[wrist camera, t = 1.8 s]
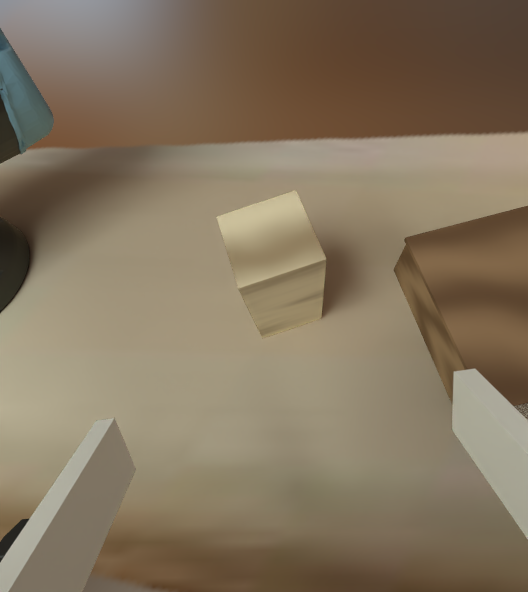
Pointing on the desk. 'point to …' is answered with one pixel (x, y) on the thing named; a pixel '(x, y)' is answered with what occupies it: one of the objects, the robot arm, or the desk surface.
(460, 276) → the walnut box
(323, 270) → the oak block
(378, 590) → the desk surface
